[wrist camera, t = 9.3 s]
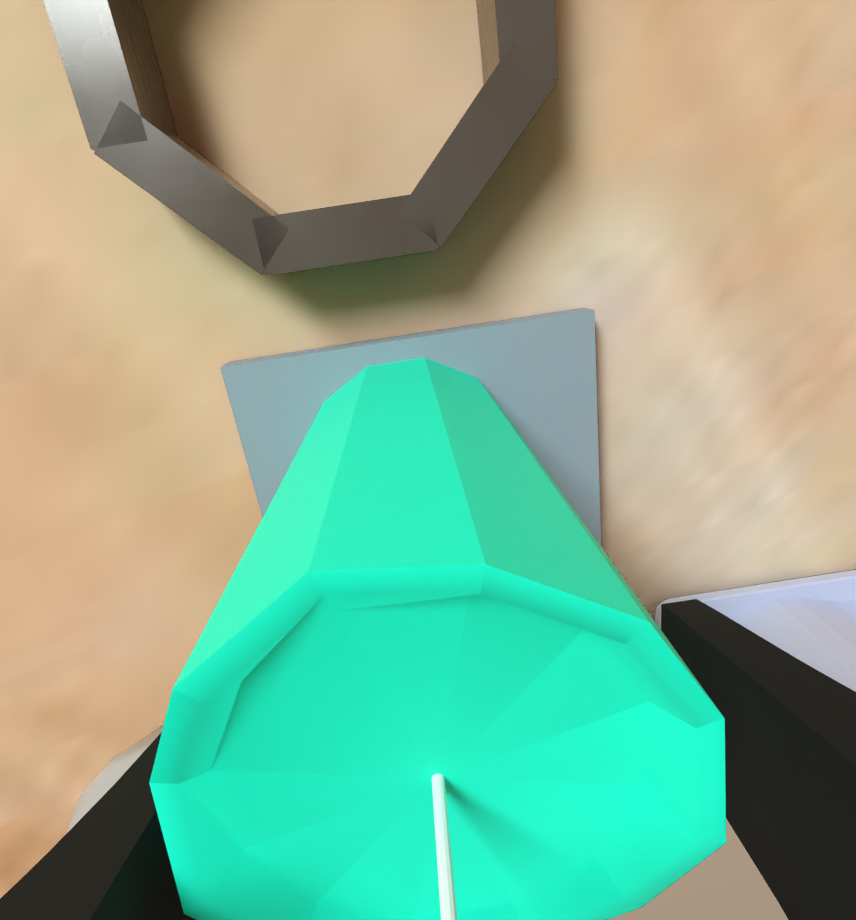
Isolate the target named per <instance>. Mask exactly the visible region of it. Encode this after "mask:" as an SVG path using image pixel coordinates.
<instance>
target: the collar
mask: <svg viewBox="0 0 856 920" xmlns="http://www.w3.org/2000/svg"><path fill="white" fill-rule="evenodd" d="M476 1H477V12H478V23H479V35H480V46H481V58H482V69H483V80H484V86H483V87H482V89H481V90H480V92H479V93H478V95H477V96H476V98H475V99H474V101H473V102H472V104H471V105H470V107H469V108H468V110H467V111H466V113H465V114H464V116H463V117H462V119H461V120H460V122H459V123H458V125H457V126H456V128H455V129H454V131H453V132H452V134H451V135H450V137H449V138H448V140H447V141H446V143H445V144H444V146H443V147H442V149H441V150H440V152H439V153H438V155H437V156H436V158H435V159H434V161H433V162H432V164H431V165H430V167H429V168H428V170H427V171H426V173H425V174H424V176H423V177H422V179H421V180H420V182H419V183H418V185H417V186H416V188H415V189H414V191H413V192H412V194H411V195H405V196H399V197H392V198H386V199H379V200H372V201H366V202H359V203H353V204H346V205H339V206H333V207H326V208H320V209H313V210H306V211H300V212H293V213H287V214H280V215H279V214H278V213H276V212H275V211H274V210H272V209H271V208H270V207H268V206H267V205H266V204H265V203H263V202H262V201H261V200H259V199H258V198H257V197H255V196H254V195H253V194H251V193H250V192H249V191H248V190H246V189H245V188H244V187H242V186H241V185H240V184H238V183H237V182H236V181H234V180H233V179H232V178H230V177H229V176H228V175H227V174H225V173H224V172H223V171H221V170H220V169H219V168H217V167H216V166H215V165H213V164H212V163H211V162H210V161H208V160H207V159H206V158H204V157H203V156H202V155H200V154H199V153H198V152H196V151H195V150H194V149H193V148H191V147H190V146H189V145H187V144H186V143H185V142H183V141H182V140H181V139H179V138H178V136H177V132H176V129H175V125H174V121H173V117H172V114H171V110H170V106H169V103H168V99H167V95H166V91H165V88H164V84H163V80H162V77H161V73H160V69H159V65H158V62H157V58H156V54H155V51H154V47H153V43H152V39H151V36H150V32H149V28H148V25H147V21H146V17H145V13H144V10H143V6H142V2H141V0H43V2H44V5H45V8H46V11H47V14H48V17H49V21H50V24H51V27H52V30H53V33H54V36H55V39H56V42H57V45H58V48H59V52H60V55H61V58H62V61H63V64H64V67H65V70H66V73H67V76H68V79H69V83H70V86H71V89H72V92H73V95H74V98H75V101H76V104H77V107H78V111H79V114H80V117H81V120H82V123H83V126H84V129H85V132H86V135H87V138H88V142H89V145H90V148H91V149H92V150H95V153H94V154H95V155H97V156H98V157H100V158H101V159H102V160H104V161H105V162H107V163H108V164H109V165H111V166H112V167H113V168H115V169H116V170H118V171H119V172H120V173H122V174H123V175H124V176H126V177H127V178H129V179H130V180H131V181H133V182H134V183H136V184H137V185H138V186H140V187H141V188H142V189H144V190H145V191H147V192H148V193H149V194H151V195H152V196H153V197H155V198H156V199H158V200H159V201H160V202H162V203H163V204H165V205H166V206H167V207H169V208H170V209H171V210H173V211H174V212H176V213H177V214H178V215H180V216H181V217H183V218H184V219H185V220H187V221H188V222H189V223H191V224H192V225H194V226H195V227H196V228H198V229H199V230H200V231H202V232H203V233H205V234H206V235H207V236H209V237H210V238H212V239H213V240H214V241H216V242H217V243H218V244H220V245H221V246H223V247H224V248H225V249H227V250H228V251H229V252H231V253H232V254H234V255H235V256H236V257H238V258H239V259H241V260H242V261H243V262H245V263H246V264H247V265H249V266H250V267H252V268H253V269H254V270H256V271H257V272H259V273H260V274H261V275H262V274H265V276H266V275H276V274H285V273H291V272H298V271H305V270H311V269H318V268H324V267H331V266H338V265H344V264H351V263H357V262H364V261H370V260H377V259H384V258H390V257H397V256H403V255H410V254H417V253H423V252H430V251H434V250H438V248H440V247H442V246H443V244H444V243H445V241H446V240H447V239H448V237H449V236H450V234H451V233H452V231H453V230H454V229H455V227H456V226H457V224H458V223H459V222H460V220H461V219H462V217H463V216H464V214H465V213H466V212H467V210H468V209H469V207H470V206H471V204H472V203H473V202H474V200H475V199H476V197H477V196H478V195H479V193H480V192H481V190H482V189H483V187H484V186H485V185H486V183H487V182H488V180H489V179H490V178H491V176H492V175H493V173H494V172H495V170H496V169H497V168H498V166H499V165H500V163H501V162H502V160H503V159H504V158H505V156H506V155H507V153H508V152H509V151H510V149H511V148H512V146H513V145H514V143H515V142H516V141H517V139H518V138H519V136H520V135H521V133H522V132H523V131H524V129H525V128H526V126H527V125H528V124H529V122H530V121H531V119H532V118H533V116H534V115H535V114H536V112H537V111H538V109H539V108H540V107H541V105H542V104H543V102H544V101H545V99H546V98H547V97H548V95H549V94H550V92H551V91H552V89H553V88H554V87H555V85H556V83H555V81H556V80H557V79H558V68H557V47H556V25H555V3H554V0H476Z"/></svg>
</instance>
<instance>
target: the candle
mask: <svg viewBox="0 0 856 920" xmlns="http://www.w3.org/2000/svg"><path fill="white" fill-rule="evenodd" d="M149 784H150V788H151V792H152V796H153V799H154V803H155V807H156V811H157V814H158V818H159V822H160V826H161V829H162V833H163V837H164V841H165V844H166V848H167V852H168V856H169V859H170V863H171V867H172V871H173V875H174V878H175V882H176V886H177V890H178V893H179V897H180V901H181V905H182V908H183V912H184V914H186V915H188V916H190V917H192V918H194V919H196V920H608V919H611V918H614V917H617V916H619V915H622V914H625V913H627V912H630V911H632V910H635V909H638V908H641V907H643V906H644V905H645V904H647V903H648V902H649V901H650V900H652V899H653V898H655V897H656V896H657V895H659V894H660V893H661V892H662V891H664V890H665V889H666V888H668V887H669V886H670V885H672V884H673V883H674V882H676V881H677V880H678V879H680V878H681V877H682V876H683V875H685V874H686V873H687V872H689V871H690V870H691V869H693V868H694V867H695V866H696V865H698V864H699V863H700V862H701V861H703V860H704V859H706V858H707V857H708V856H710V855H711V854H712V853H714V852H715V851H716V850H717V849H719V848H720V847H721V846H723V845H724V844H725V843H726V790H725V718H724V717H723V715H722V714H721V713H720V711H719V710H718V708H717V707H716V706H715V704H714V703H713V701H712V700H711V699H710V697H709V696H708V695H707V693H706V692H705V690H704V689H703V688H702V686H701V685H700V683H699V682H698V681H697V679H696V678H695V676H694V675H693V674H692V672H691V671H690V670H689V668H688V667H687V665H686V664H685V663H684V661H683V660H682V658H681V657H680V656H679V654H678V653H677V652H676V650H675V649H674V647H673V646H672V645H671V643H670V642H669V640H668V639H667V638H666V636H665V635H664V633H663V632H662V631H661V629H660V628H659V627H658V625H657V624H656V622H655V621H654V620H653V618H652V617H651V615H650V614H649V613H648V611H647V610H646V608H645V607H644V606H643V604H642V603H641V602H640V600H639V599H638V597H637V596H636V595H635V593H634V592H633V590H632V589H631V588H630V586H629V585H628V584H627V582H626V581H625V579H624V578H623V577H622V575H621V574H620V572H619V571H618V570H617V568H616V567H615V565H614V564H613V563H612V561H611V560H610V559H609V557H608V556H607V554H606V553H605V552H604V550H603V549H602V547H601V546H600V545H599V543H598V542H597V540H596V539H595V538H594V536H593V535H592V534H591V532H590V531H589V529H588V528H587V527H586V525H585V524H584V522H583V521H582V520H581V518H580V517H579V516H578V514H577V513H576V511H575V510H574V509H573V507H572V506H571V504H570V503H569V502H568V500H567V499H566V497H565V496H564V495H563V493H562V492H561V491H560V489H559V488H558V486H557V485H556V484H555V482H554V481H553V479H552V478H551V477H550V475H549V474H548V472H547V471H546V470H545V468H544V467H543V466H542V464H541V463H540V461H539V460H538V459H537V457H536V456H535V454H534V453H533V452H532V450H531V449H530V447H529V446H528V445H527V443H526V442H525V441H524V439H523V438H522V436H521V435H520V434H519V432H518V431H517V429H516V428H515V427H514V425H513V424H512V423H511V421H510V420H509V418H508V417H507V416H506V415H505V413H504V412H503V411H502V409H501V408H500V407H499V405H498V404H497V403H496V402H495V400H494V399H493V398H492V396H491V395H490V394H489V392H488V391H487V390H486V388H485V387H484V386H483V385H482V383H481V382H480V381H479V379H478V378H476V377H474V376H471V375H469V374H466V373H464V372H461V371H458V370H456V369H453V368H451V367H448V366H446V365H443V364H441V363H438V362H435V361H433V360H430V359H428V358H425V357H423V358H417V359H410V360H404V361H397V362H391V363H385V364H378V365H372V366H367V367H366V368H364V369H363V370H362V371H361V372H360V373H358V374H357V375H356V376H355V377H354V378H352V379H351V380H350V381H349V382H347V383H346V384H345V385H344V386H343V387H341V388H340V389H339V390H338V391H336V392H335V393H334V394H333V395H332V396H330V397H329V398H328V399H327V400H326V401H324V403H323V404H322V406H321V408H320V410H319V412H318V414H317V416H316V418H315V420H314V422H313V423H312V425H311V427H310V429H309V431H308V433H307V435H306V437H305V439H304V441H303V442H302V444H301V446H300V448H299V450H298V452H297V454H296V456H295V458H294V460H293V461H292V463H291V465H290V467H289V469H288V471H287V473H286V475H285V477H284V479H283V480H282V482H281V484H280V486H279V488H278V490H277V492H276V494H275V496H274V498H273V499H272V501H271V503H270V505H269V507H268V509H267V511H266V513H265V515H264V517H263V518H262V520H261V522H260V524H259V526H258V528H257V530H256V532H255V534H254V536H253V537H252V539H251V541H250V543H249V545H248V547H247V549H246V551H245V553H244V555H243V556H242V558H241V560H240V562H239V564H238V566H237V568H236V570H235V572H234V574H233V576H232V577H231V579H230V581H229V583H228V585H227V587H226V589H225V591H224V593H223V595H222V596H221V598H220V600H219V602H218V604H217V606H216V608H215V610H214V612H213V614H212V615H211V617H210V619H209V621H208V623H207V625H206V627H205V629H204V631H203V633H202V634H201V636H200V638H199V640H198V642H197V644H196V646H195V648H194V650H193V652H192V653H191V655H190V657H189V659H188V661H187V663H186V665H185V667H184V669H183V671H182V672H181V674H180V676H179V678H178V680H177V682H176V684H175V686H174V688H173V690H172V694H171V698H170V702H169V706H168V710H167V714H166V718H165V722H164V726H163V730H162V734H161V738H160V742H159V746H158V750H157V754H156V758H155V762H154V766H153V770H152V774H151V778H150V782H149Z"/></svg>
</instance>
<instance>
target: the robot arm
mask: <svg viewBox="0 0 856 920" xmlns="http://www.w3.org/2000/svg"><path fill="white" fill-rule="evenodd" d="M655 622H656V624H657V625H658V627H659V628H660V629H661V631H662V632H663V633H664V635H665V636H666V638H667V639H668V640H669V642H670V643H671V645H672V646H673V647H674V649H675V650H676V652H677V653H678V654H679V656H680V657H681V658H682V660H683V661H684V663H685V664H686V665H687V667H688V668H689V670H690V671H691V672H692V674H693V675H694V676H695V678H696V679H697V681H698V682H699V683H700V685H701V686H702V688H703V689H704V690H705V692H706V693H707V695H708V696H709V697H710V699H711V700H712V701H713V703H714V704H715V706H716V707H717V708H718V710H719V711H720V713H721V714H722V715H723V717H724V718H725V790H726V818H727V820H728V822H729V823H730V825H731V826H732V828H733V830H734V831H735V833H736V834H737V836H738V838H739V839H740V841H741V842H742V844H743V845H744V847H745V849H746V851H747V852H748V854H749V855H750V857H751V859H752V860H753V862H754V863H755V865H756V867H757V868H758V870H759V871H760V873H761V875H762V876H763V878H764V879H765V881H766V883H767V884H768V886H769V888H770V889H771V891H772V892H773V894H774V896H775V897H776V899H777V901H778V902H779V904H780V906H781V907H782V909H783V911H784V912H785V914H786V916H787V918H788V919H789V920H856V570H851V571H844V572H838V573H831V574H825V575H818V576H812V577H805V578H799V579H792V580H786V581H779V582H773V583H766V584H760V585H754V586H747V587H741V588H734V589H728V590H721V591H715V592H708V593H702V594H695V595H689V596H682V597H676V598H670V599H667V600H664V601H663V602H661V603H660V604H659V605H658V606H657V608H656V612H655ZM161 734H162V732H161V733H160V734H159V735H158V737H157V738H156V739H155V740H154V741H153V742H152V743H151V744H150V745H149V746H148V748H147V749H146V750H145V751H144V752H143V753H142V754H141V755H140V756H139V758H138V759H137V760H136V761H135V762H134V763H133V764H132V765H131V766H130V768H129V769H128V770H127V771H126V772H125V773H124V774H123V775H122V776H121V778H120V779H119V780H118V781H117V782H116V783H115V784H114V785H113V786H112V787H111V788H110V789H109V790H108V791H107V792H106V793H105V794H104V795H103V797H102V798H101V799H100V800H99V801H98V802H97V803H96V804H95V805H94V806H93V807H92V808H91V809H90V810H89V811H88V812H87V813H86V814H85V815H84V816H83V817H82V818H81V819H80V820H79V821H78V822H77V823H76V824H75V826H74V827H73V828H72V829H71V830H70V831H69V832H68V833H67V834H66V835H65V836H64V837H63V838H62V839H61V840H60V841H59V842H58V843H57V844H56V845H55V846H54V847H53V848H52V849H51V850H50V851H49V852H48V853H47V854H46V855H45V856H44V857H43V858H42V859H41V860H40V861H39V862H38V863H37V864H36V865H35V866H34V867H33V868H32V869H31V870H30V871H29V872H28V873H27V874H26V875H25V876H24V877H23V878H22V879H21V880H20V881H19V882H18V883H16V884H15V885H14V886H13V887H12V888H11V889H10V890H9V891H8V892H7V893H6V894H5V895H4V896H3V897H2V898H1V899H0V920H196V919H194V918H192V917H190V916H188V915H186V914H184V912H183V908H182V905H181V901H180V897H179V893H178V890H177V886H176V882H175V878H174V875H173V871H172V867H171V863H170V859H169V856H168V852H167V848H166V844H165V841H164V837H163V833H162V829H161V826H160V822H159V818H158V814H157V811H156V807H155V803H154V799H153V796H152V792H151V788H150V784H149V782H150V778H151V774H152V770H153V766H154V762H155V758H156V754H157V750H158V746H159V742H160V738H161Z"/></svg>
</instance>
